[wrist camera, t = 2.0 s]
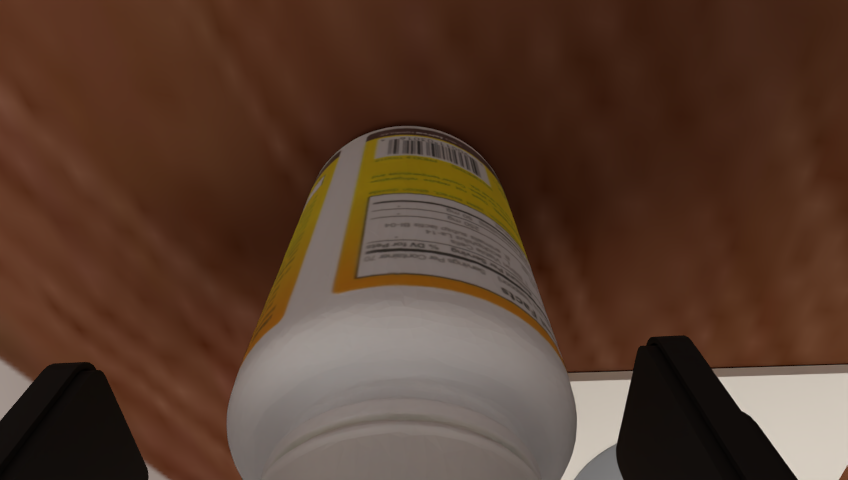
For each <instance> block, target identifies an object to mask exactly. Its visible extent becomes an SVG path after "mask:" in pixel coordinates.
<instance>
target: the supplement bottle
mask: <svg viewBox="0 0 848 480" xmlns="http://www.w3.org/2000/svg"><path fill="white" fill-rule="evenodd" d="M576 432H577V412H576V404H575V399H574V395H573V391H572V388H571V384H570V380H569V376H568V372H567V369H566V367H565V364H564V361H563V359H562V356H561V353H560V351H559V348H558V345H557V341H556V339H555V336H554V333H553V331H552V328H551V325H550V322H549V320H548V317H547V314H546V311H545V308H544V305H543V302H542V299H541V297H540V294H539V291H538V288H537V285H536V282H535V279H534V276H533V273H532V270H531V267H530V264H529V261H528V259H527V255H526V252H525V250H524V247H523V244H522V241H521V239H520V236H519V233H518V230H517V227H516V224H515V221H514V218H513V215H512V212H511V210H510V207H509V204H508V201H507V198H506V194H505V192H504V190H503V187H502V185H501V183H500V181H499V179H498V177H497V176H496V174H495V172H494V171H493V169H492V168H491V166H490V165H489V164H488V163H487V161H486V160H485V159H484V158H483V157H482V156H481V155H480V154H479V153H478V152H477V151H476V150H474V149H473V148H472V147H471V146H469V145H468V144H466V143H465V142H463V141H461V140H460V139H458V138H456V137H454V136H452V135H450V134H447V133H445V132H442V131H439V130H435V129H431V128H426V127H418V126H395V127H388V128H384V129H380V130H376V131H373V132H370V133H367V134H365V135H362V136H360V137H358V138H356V139H354V140H353V141H351V142H349V143H348V144H346V145H345V146H344V147H342V148H341V149H340V150H339V151H337V152H336V153H335V154H334V155H333V156H332V157H331V158H330V159H329V161H328V162H327V163H326V164H325V165H324V167H323V168H322V170H321V171H320V173H319V175H318V177H317V178H316V180H315V182H314V185H313V187H312V189H311V191H310V194H309V196H308V199H307V201H306V204H305V206H304V209H303V212H302V214H301V217H300V220H299V222H298V225H297V227H296V229H295V232H294V234H293V237H292V239H291V241H290V244H289V247H288V249H287V251H286V254H285V257H284V259H283V262H282V264H281V267H280V269H279V272H278V274H277V277H276V279H275V282H274V284H273V286H272V289H271V291H270V293H269V296H268V299H267V301H266V303H265V306H264V309H263V311H262V314H261V316H260V319H259V321H258V323H257V326H256V329H255V331H254V333H253V336H252V339H251V341H250V344H249V346H248V348H247V351H246V353H245V356H244V358H243V361H242V364H241V366H240V369H239V372H238V375H237V378H236V380H235V384H234V387H233V390H232V393H231V397H230V401H229V404H228V411H227V437H228V443H229V447H230V451H231V454H232V458H233V460H234V463H235V466H236V468H237V470H238V472H239V473H240V475H241V477H242V479H243V480H561V478H562V476H563V475H564V473H565V470H566V468H567V466H568V464H569V462H570V459H571V457H572V454H573V450H574V445H575V441H576Z"/></svg>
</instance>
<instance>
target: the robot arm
mask: <svg viewBox="0 0 848 480" xmlns="http://www.w3.org/2000/svg"><path fill="white" fill-rule="evenodd" d="M616 459H617V464H618V467H619V470H620V473H621V475H622V478H623V480H798V479H797V478H796V476H795V475H794V473H793V472H792V471H791V469H790V468H789V467H788V465H787V464H786V462H785V461H784V460H783V458H782V457H781V456H780V454H779V453H778V451H777V450H776V449H775V447H774V446H773V445H772V443H771V442H770V440H769V439H768V438H767V436H766V435H765V434H764V432H763V431H762V429H761V428H760V427H759V425H758V424H757V423H756V422H755V421H754V420H753V418H752V417H751V416H749V415H748V414H746V413H744V412H742V411H741V410H740V408H739V407H738V405H737V404H736V403H735V401H734V400H733V398H732V397H731V396H730V394H729V393H728V391H727V390H726V389H725V387H724V386H723V384H722V383H721V381H720V380H719V379H718V377H717V376H716V374H715V373H714V372H713V370H712V369H711V367H710V366H709V365H708V363H707V362H706V360H705V359H704V358H703V356H702V355H701V353H700V352H699V351H698V349H697V348H696V346H695V345H694V344H693V342H692V341H691V340H690V339H689V338H688V337H686V336H662V337H651V338H650V339H649V340H648V342H647V345H646V346H640V347H639V348H638V351H637V355H636V360H635V364H634V369H633V373H632V378H631V382H630V387H629V391H628V396H627V400H626V405H625V409H624V414H623V418H622V423H621V427H620V432H619V436H618V441H617V445H616ZM0 480H148V470H147V467H146V465H145V462H144V460H143V458H142V456H141V454H140V451H139V449H138V447H137V445H136V443H135V440H134V438H133V436H132V434H131V432H130V429H129V427H128V425H127V423H126V420H125V418H124V416H123V414H122V412H121V409H120V407H119V405H118V403H117V401H116V398H115V396H114V394H113V392H112V390H111V387H110V385H109V383H108V381H107V379H106V376H105V375H104V373H103V372H102V371H100V370H96V368H95V367H94V365H92V364H91V363H88V362H79V363H57V364H51V365H49V366H47V367H46V368H45V369H44V370H43V371H42V372H41V373H40V375H39V376H38V377H37V378H36V379H35V380H34V382H33V383H32V384H31V385H30V386H29V388H28V389H27V390H26V391H25V392H24V393H23V395H22V396H21V397H20V398H19V399H18V401H17V402H16V403H15V404H14V405H13V407H12V408H11V409H10V410H9V411H8V412H7V414H6V415H5V416H4V417H3V418H2V420H1V421H0Z"/></svg>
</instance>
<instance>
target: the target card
mask: <svg viewBox="0 0 848 480" xmlns="http://www.w3.org/2000/svg"><path fill="white" fill-rule="evenodd" d="M712 370H713V372H714V373H715V374H716V376H717V377H718V379H719V380H720V381H721V383H722V384H723V386H724V387H725V389H726V390H727V391H728V393H729V394H730V396H731V397H732V398H733V400H734V401H735V403H736V404H737V405H738V407H739V408H740V410H741V411H742V412H744V413H746V414H748V415H749V416H751V417H752V418H753V420H754V421H755V422H756V423H757V424H758V425H759V427H760V428H761V429H762V431H763V432H764V434H765V435H766V436H767V438H768V439H769V440H770V442H771V443H772V445H773V446H774V447H775V449H776V450H777V451H778V453H779V454H780V456H781V457H782V458H783V460H784V461H785V462H786V464H787V465H788V467H789V468H790V469H791V471H792V472H793V473H794V475H795V476H796V478H797V479H798V480H839V478H840V477H841V475H842V473H843V471H844V470H845V468H846V466H847V465H848V364H847V365H814V366H781V367H749V368H716V369H712ZM632 373H633V371H618V372H585V373H568V376H569V380H570V384H571V388H572V391H573V395H574V399H575V404H576V412H577V432H576V441H575V445H574V450H573V454H572V457H571V459H570V462H569V464H568V466H567V468H566V470H565V473H564V475H563V476H562V478H561V480H623V478H622V475H621V473H620V470H619V467H618V464H617V459H616V445H617V441H618V436H619V432H620V427H621V423H622V418H623V414H624V409H625V405H626V400H627V396H628V391H629V387H630V382H631V378H632Z"/></svg>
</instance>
